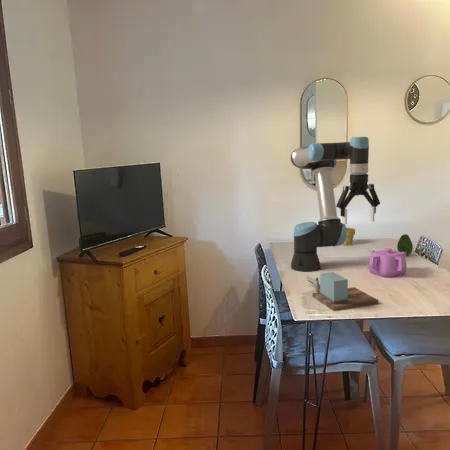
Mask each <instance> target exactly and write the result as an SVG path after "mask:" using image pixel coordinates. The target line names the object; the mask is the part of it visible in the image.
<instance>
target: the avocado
mask: <svg viewBox="0 0 450 450" xmlns="http://www.w3.org/2000/svg"><path fill="white" fill-rule="evenodd" d="M413 245H414V244H413V243H412V240H411V238H410V236H409V235H408V234H406V233H405V234H402V235H401V236H400V238H399V239H398V242H397V245H396V246H397V247H396V249H397V251H398V252H407V253H406V256H409V255H410V254H411V253H412V252H413ZM406 256H405V257H406Z"/></svg>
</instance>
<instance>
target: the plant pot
mask: <svg viewBox="0 0 450 450" xmlns="http://www.w3.org/2000/svg"><path fill="white" fill-rule="evenodd" d="M346 230H347V234H346V239H345V242H344V243H343V244H342V245H341V246H351V245H352V244H353V241H354V237H355V235H356V229H355V228H352V227H346Z"/></svg>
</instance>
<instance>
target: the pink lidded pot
mask: <svg viewBox="0 0 450 450" xmlns="http://www.w3.org/2000/svg"><path fill="white" fill-rule="evenodd" d="M406 253H407V252H399V251H398V250H394V249H392V248H391V247H386V248H384V249H383V250H381V249H380V250H370V254H371V256H370V257H369V263H368V269H369V273H370V274H373V275H374V276H377V277H378V276H379V277H381V278H384V279H389V278H395V277H400V276H403V275H405V274H406V272H407V268H408V267H407V258H406Z"/></svg>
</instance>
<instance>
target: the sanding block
mask: <svg viewBox="0 0 450 450" xmlns="http://www.w3.org/2000/svg"><path fill="white" fill-rule="evenodd" d="M319 278H320V279H319V292H320V295H322V296H323V297H325V298H326V299H328V300H329V301H331V302H332V303H334V304H335V303H341V302H347V301H348V288H349V287H348V286H349V281H348V278H345V277H344V276H342V275H340V274H338V273H336V272H335V271H332V272H324V273H320V274H319Z"/></svg>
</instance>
